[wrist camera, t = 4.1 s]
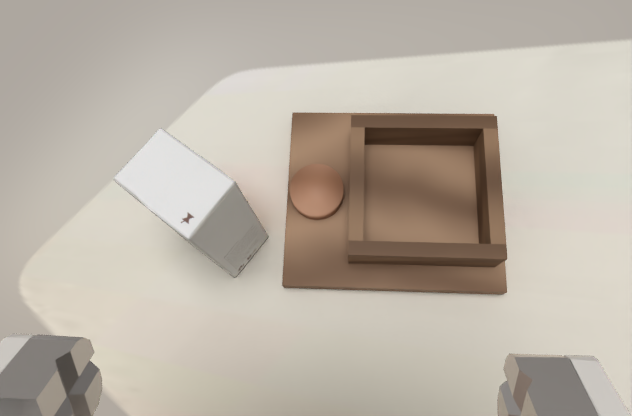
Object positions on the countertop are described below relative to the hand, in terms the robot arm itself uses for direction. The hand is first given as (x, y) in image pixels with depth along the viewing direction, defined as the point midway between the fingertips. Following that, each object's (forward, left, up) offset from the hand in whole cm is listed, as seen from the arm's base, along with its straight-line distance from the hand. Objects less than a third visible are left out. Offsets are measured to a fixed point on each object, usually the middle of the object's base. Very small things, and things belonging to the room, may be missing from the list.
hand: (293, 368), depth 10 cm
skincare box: (+9, +9, -27) cm, 30 cm away
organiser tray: (+12, -4, -27) cm, 30 cm away
